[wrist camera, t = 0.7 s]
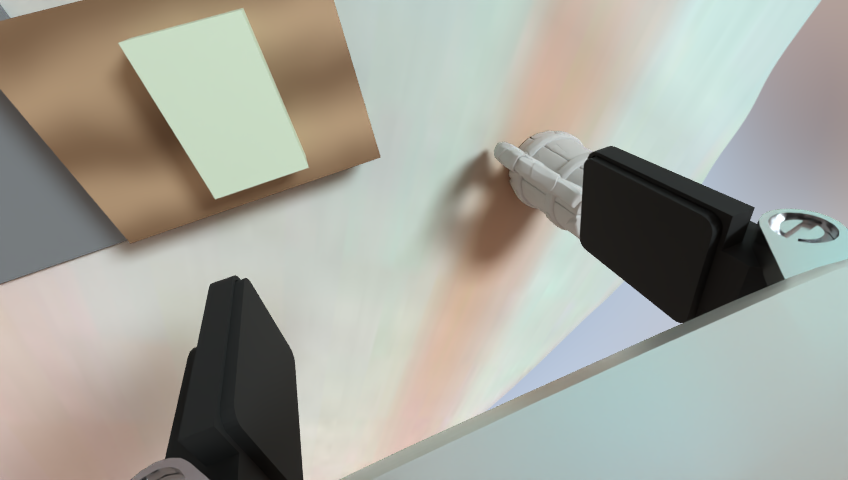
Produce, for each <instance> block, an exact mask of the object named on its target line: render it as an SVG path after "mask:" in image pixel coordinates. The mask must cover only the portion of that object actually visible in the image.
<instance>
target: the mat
mask: <svg viewBox="0 0 848 480" xmlns="http://www.w3.org/2000/svg"><path fill="white" fill-rule="evenodd" d="M6 19H10V17H9V16H8V15H7V13H6V12H5V11H4V9H3V8H2V7H1V5H0V21H2V20H6ZM126 240H127V239H126V238H125V236H124V235H123V234H122V233H121V232H120V231H119V229H118V228H117V227H116V226H115V225H114V223H113V222H112V221H111V220H110V219H109V217H108V216H107V215H106V214H105V213H104V212H103V210H102V209H101V208H100V207H99V206H98V204H97V203H96V202H95V201H94V200H93V198H92V197H91V196H90V195H89V194H88V193H87V191H86V190H85V189H84V188H83V187H82V185H81V184H80V183H79V182H78V181H77V179H76V178H75V177H74V176H73V175H72V174H71V172H70V171H69V170H68V169H67V168H66V166H65V165H64V164H63V163H62V162H61V161H60V159H59V158H58V157H57V156H56V155H55V153H54V152H53V151H52V150H51V149H50V147H49V146H48V145H47V144H46V143H45V142H44V140H43V139H42V138H41V137H40V136H39V134H38V133H37V132H36V131H35V130H34V128H33V127H32V126H31V125H30V124H29V123H28V121H27V120H26V119H25V118H24V117H23V115H22V114H21V113H20V112H19V111H18V109H17V108H16V107H15V106H14V105H13V104H12V102H11V101H10V100H9V99H8V98H7V96H6V95H5V94H4V93H3V92H2V90H1V89H0V284H1V283H4V282H7V281H10V280H13V279H16V278H19V277H22V276H24V275H27V274H30V273H33V272H36V271H39V270H42V269H45V268H48V267H51V266H54V265H56V264H59V263H62V262H65V261H68V260H71V259H74V258H77V257H80V256H83V255H86V254H89V253H91V252H94V251H97V250H100V249H103V248H106V247H109V246H112V245H115V244H118V243H121V242H124V241H126Z"/></svg>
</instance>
